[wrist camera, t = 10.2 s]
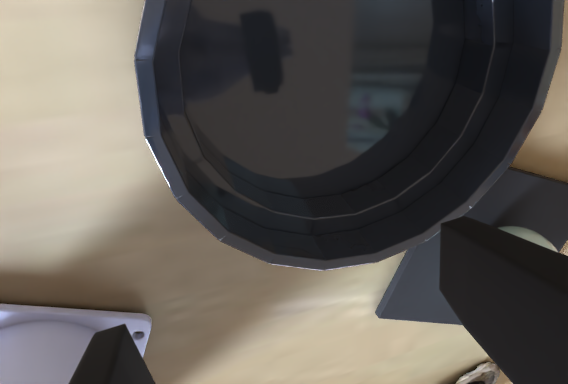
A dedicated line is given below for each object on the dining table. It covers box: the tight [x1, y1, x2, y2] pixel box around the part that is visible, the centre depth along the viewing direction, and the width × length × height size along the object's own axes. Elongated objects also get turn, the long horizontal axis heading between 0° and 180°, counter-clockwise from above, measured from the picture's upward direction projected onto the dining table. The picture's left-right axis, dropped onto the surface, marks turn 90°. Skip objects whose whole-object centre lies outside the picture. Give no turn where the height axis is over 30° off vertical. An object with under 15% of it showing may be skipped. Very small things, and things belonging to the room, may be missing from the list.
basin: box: [134, 0, 564, 271], centre depth 15 cm, size 14×14×4 cm
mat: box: [375, 167, 568, 325], centre depth 24 cm, size 10×10×1 cm
